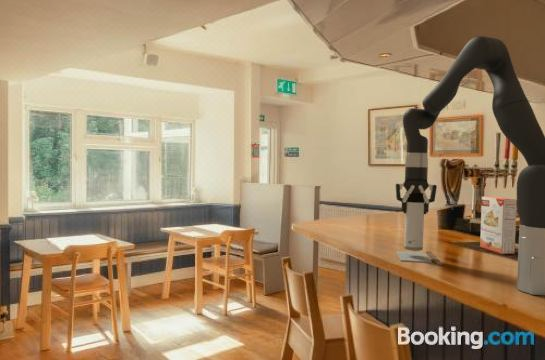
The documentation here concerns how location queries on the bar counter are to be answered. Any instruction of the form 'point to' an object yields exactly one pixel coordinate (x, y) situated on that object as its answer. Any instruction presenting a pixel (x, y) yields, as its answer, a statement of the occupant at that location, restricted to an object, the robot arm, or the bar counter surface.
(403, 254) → the mat
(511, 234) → the cracker box
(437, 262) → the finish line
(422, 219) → the travel mug
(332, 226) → the bar counter surface
